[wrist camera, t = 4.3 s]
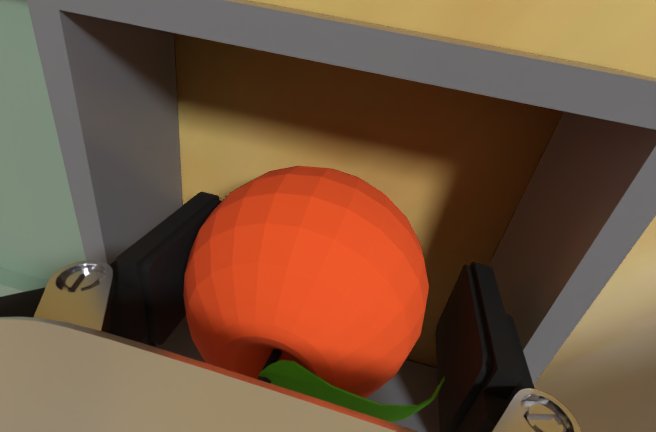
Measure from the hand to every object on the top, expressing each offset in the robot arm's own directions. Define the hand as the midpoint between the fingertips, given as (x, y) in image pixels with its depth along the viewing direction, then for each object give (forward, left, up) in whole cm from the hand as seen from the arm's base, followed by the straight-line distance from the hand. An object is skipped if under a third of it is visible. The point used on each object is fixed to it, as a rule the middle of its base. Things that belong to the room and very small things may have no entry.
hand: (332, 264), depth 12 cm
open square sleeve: (+1, 0, -3) cm, 3 cm away
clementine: (0, 0, -2) cm, 2 cm away
